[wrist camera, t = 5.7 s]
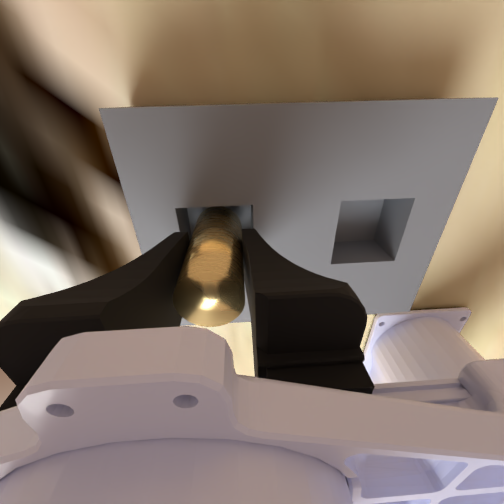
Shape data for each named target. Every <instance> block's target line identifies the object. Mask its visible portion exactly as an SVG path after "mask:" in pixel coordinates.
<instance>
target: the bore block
mask: <svg viewBox="0 0 504 504" xmlns="http://www.w3.org/2000/svg"><path fill="white" fill-rule="evenodd" d="M497 100H498V98H441V99H404V100H367V101H330V102H294V103H257V104H220V105H183V106H146V107H118V108H99V111H100V114H101V117H102V121H103V124H104V128H105V131H106V134H107V138H108V141H109V145H110V148H111V151H112V155H113V158H114V161H115V165H116V168H117V172H118V175H119V178H120V182H121V185H122V188H123V192H124V195H125V199H126V202H127V205H128V209H129V212H130V215H131V219H132V222H133V226H134V229H135V232H136V236H137V239H138V242H139V246H140V249H141V253H142V254H144V253H145V252H147V251H148V250H150V249H151V248H153V247H154V246H156V245H157V244H158V243H160V242H161V241H163V240H164V239H165V238H167V237H168V236H169V235H171V234H173V233H174V232H188V235H189V241H191V238H192V234H193V231H194V228H195V225H196V222H197V219H198V217H199V215H200V214H201V213H202V212H203V211H204V210H206V209H207V208H210V207H216V206H223V207H226V208H229V209H231V210H232V211H234V212H235V213H236V214H237V216H238V217H239V219H240V221H241V225H242V229H253V228H254V229H256V230H257V232H258V233H259V234H260V236H261V237H262V238H263V239H264V240H265V241H266V242H267V243H268V244H269V245H270V246H271V247H272V248H273V249H274V250H275V251H276V252H278V253H279V254H280V255H281V256H283V257H284V258H286V259H287V260H289V261H291V262H292V263H294V264H296V265H298V266H300V267H302V268H304V269H306V270H308V271H311V272H313V273H316V274H319V275H321V276H324V277H327V278H331V279H335V280H339V281H343V282H346V283H348V284H349V286H350V287H351V288H352V289H353V291H354V292H355V293H356V295H357V296H358V298H359V299H360V301H361V303H362V304H363V306H364V307H365V310H366V313H367V314H384V313H400V312H409V311H410V309H411V307H412V304H413V302H414V299H415V297H416V295H417V292H418V290H419V287H420V285H421V283H422V280H423V278H424V275H425V273H426V271H427V268H428V266H429V263H430V261H431V259H432V256H433V254H434V251H435V249H436V247H437V244H438V242H439V239H440V237H441V235H442V232H443V230H444V227H445V225H446V223H447V220H448V218H449V215H450V213H451V211H452V208H453V206H454V203H455V201H456V199H457V196H458V194H459V191H460V189H461V187H462V184H463V182H464V179H465V177H466V175H467V172H468V170H469V167H470V165H471V163H472V160H473V158H474V155H475V153H476V151H477V148H478V146H479V143H480V141H481V139H482V136H483V134H484V131H485V129H486V127H487V124H488V122H489V119H490V117H491V115H492V112H493V110H494V107H495V105H496V103H497ZM244 285H245V282H244ZM235 322H251V317H250V311H249V305H248V299H247V294H246V288H245V306H244V309H243V311H242V312H241V314H240V315H239V316H238V317H237V318H236V319H235V320H233V321H231V322H230V323H235ZM186 325H196V324H193V323H191V322H189V321H187V320H185V319H184V318H183V317H182V320H181V324H180V326H186Z"/></svg>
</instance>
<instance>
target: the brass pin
mask: <svg viewBox="0 0 504 504" xmlns="http://www.w3.org/2000/svg"><path fill="white" fill-rule="evenodd" d="M173 304H174V307H175V309H176V311H177V312H178V313H179V315H180V316H182V317H183V318H184V319H185V320H187V321H189V322H191V323H193V324H196V325H200V326H206V327H215V326H221V325H225V324H227V323H230V322H231V321H233V320H235V319H236V318H237V317H238V316H239V315H240V314H241V312H242V311H243V309H244V306H245V285H244V265H243V245H242V225H241V221H240V219H239V217H238V216H237V214H236V213H235V212H234V211H232V210H231V209H229V208H226V207H223V206H216V207H210V208H207V209H206V210H204V211H203V212H202V213H201V214H200V215H199V217H198V219H197V222H196V225H195V228H194V231H193V234H192V238H191V241H190V244H189V247H188V250H187V253H186V256H185V259H184V262H183V265H182V269H181V272H180V275H179V278H178V281H177V284H176V287H175V290H174V293H173Z"/></svg>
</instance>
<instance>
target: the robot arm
mask: <svg viewBox="0 0 504 504" xmlns="http://www.w3.org/2000/svg"><path fill="white" fill-rule="evenodd" d="M189 244H190V241H189V235H188V232H174V233H173V234H171V235H169V236H168V237H167V238H165V239H164V240H163V241H161V242H160V243H158V244H157V245H156V246H154V247H153V248H151V249H150V250H148V251H147V252H145V253H144V254H142V255H141V256H139V257H138V258H136V259H135V260H133V261H131V262H129V263H128V264H126V265H124V266H122V267H120V268H118V269H116V270H114V271H112V272H110V273H107V274H105V275H102V276H100V277H98V278H95V279H93V280H91V281H88V282H85V283H82V284H80V285H77V286H74V287H71V288H68V289H65V290H61V291H58V292H54V293H51V294H47V295H43V296H39V297H36V298H32V299H28V300H24V301H21V302H20V303H19V304H17V305H16V306H15V307H14V308H13V309H12V310H11V311H10V312H9V313H8V314H7V315H6V316H5V317H4V318H3V319H2V320H1V321H0V368H1V369H2V370H3V371H4V372H5V373H6V374H7V376H8V377H9V378H10V379H11V380H12V381H13V382H14V383H15V385H17V386H16V387H15V388H14V390H13V391H12V392H11V394H10V395H9V396H8V398H7V399H6V400H5V401H4V403H3V404H2V405H1V407H0V504H504V359H490V360H485V359H484V358H483V357H482V356H481V355H480V354H479V353H478V352H477V351H476V350H475V349H474V348H473V347H472V346H471V345H470V344H469V343H468V342H467V341H466V340H465V339H464V337H463V336H462V335H461V334H460V332H461V330H462V328H463V327H464V325H465V323H466V322H467V320H468V318H469V317H470V315H471V311H470V310H469V309H468V308H466V307H462V308H446V309H429V310H413V311H409V312H400V313H384V314H377V315H376V317H375V320H374V323H373V326H372V329H371V332H370V335H369V338H368V341H367V344H366V347H365V350H364V353H363V352H362V350H361V348H360V344H361V341H362V337H363V334H364V331H365V327H366V323H367V313H366V310H365V307H364V306H363V304H362V303H361V301H360V299H359V298H358V296H357V295H356V293H355V292H354V291H353V289H352V288H351V287H350V286H349V284H348V283H346V282H343V281H339V280H335V279H331V278H327V277H324V276H321V275H319V274H316V273H313V272H311V271H308V270H306V269H304V268H302V267H300V266H298V265H296V264H294V263H292V262H291V261H289V260H287V259H286V258H284V257H283V256H281V255H280V254H279V253H278V252H276V251H275V250H274V249H273V248H272V247H271V246H270V245H269V244H268V243H267V242H266V241H265V240H264V239H263V238H262V237H261V236H260V234H259V233H258V232H257V230H256V229H254V228H253V229H242V245H243V265H244V282H245V288H246V294H247V299H248V305H249V311H250V317H251V325H252V340H253V355H254V370H255V377H251V376H245V375H238V374H236V372H235V369H234V364H233V354H232V351H231V349H230V347H229V345H228V343H227V342H226V340H225V339H224V338H222V337H221V336H219V335H217V334H215V333H213V332H212V331H210V330H208V329H206V328H197V327H189V326H180V324H181V320H182V316H180V315H179V313H178V312H177V311H176V309H175V307H174V304H173V293H174V290H175V287H176V284H177V281H178V278H179V275H180V272H181V269H182V265H183V262H184V259H185V256H186V253H187V250H188V247H189Z"/></svg>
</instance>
